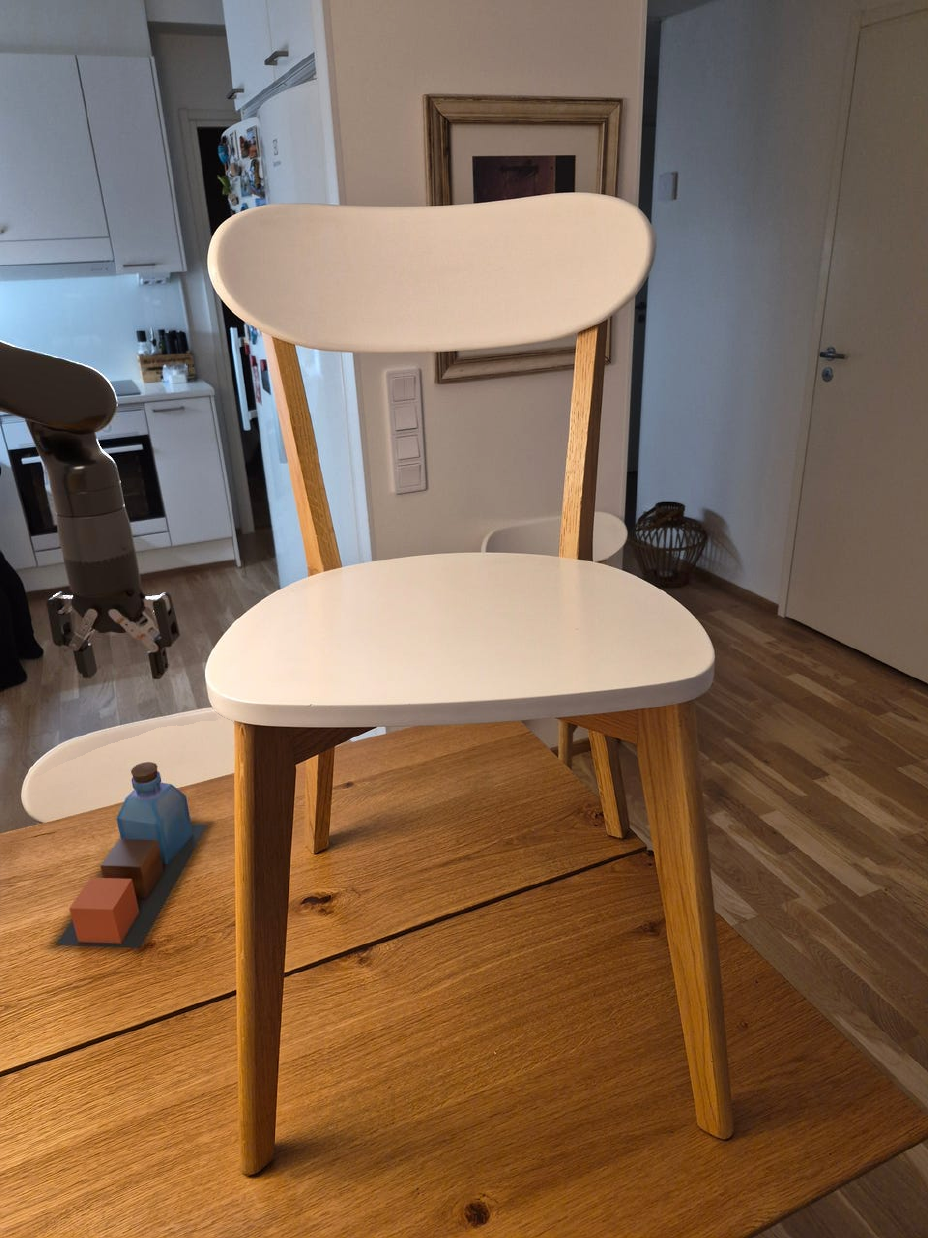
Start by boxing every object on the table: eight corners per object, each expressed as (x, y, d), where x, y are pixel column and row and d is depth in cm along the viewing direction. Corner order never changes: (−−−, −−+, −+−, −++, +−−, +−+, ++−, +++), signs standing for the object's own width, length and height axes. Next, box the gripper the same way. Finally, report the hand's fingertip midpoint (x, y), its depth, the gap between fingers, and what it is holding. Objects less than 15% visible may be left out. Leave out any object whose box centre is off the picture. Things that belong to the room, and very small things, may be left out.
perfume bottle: (125, 857, 107) (107, 780, 102) (152, 827, 112) (137, 753, 108) (167, 864, 105) (151, 786, 101) (193, 834, 111) (179, 758, 106)
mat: (56, 950, 94) (45, 911, 91) (137, 827, 114) (130, 793, 111) (141, 953, 93) (132, 914, 91) (208, 829, 113) (202, 794, 111)
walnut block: (107, 898, 100) (100, 865, 98) (125, 870, 105) (118, 838, 103) (147, 899, 100) (140, 867, 98) (164, 871, 104) (157, 839, 102)
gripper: (173, 537, 95) (193, 662, 102) (54, 537, 96) (82, 661, 103) (146, 559, 88) (170, 692, 95) (18, 558, 89) (51, 690, 96)
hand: (124, 675), depth 99 cm, fingers open, 8 cm apart
